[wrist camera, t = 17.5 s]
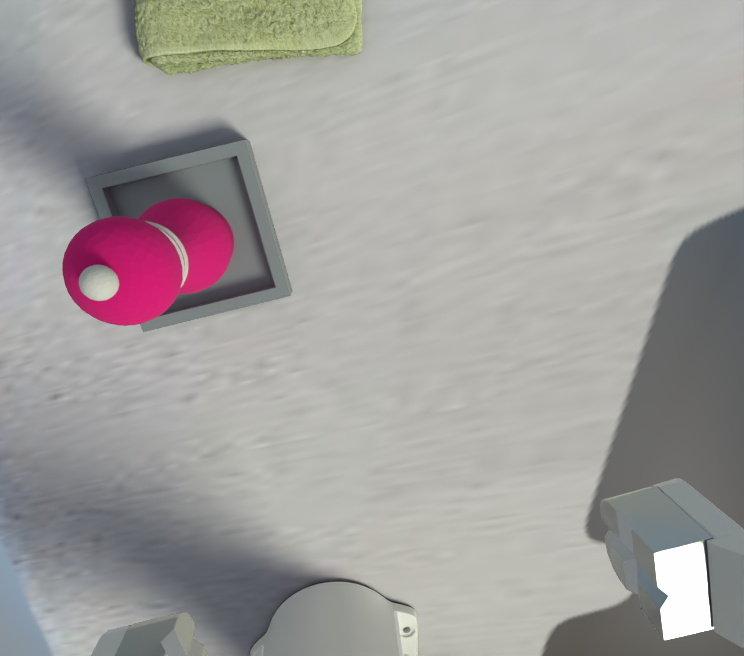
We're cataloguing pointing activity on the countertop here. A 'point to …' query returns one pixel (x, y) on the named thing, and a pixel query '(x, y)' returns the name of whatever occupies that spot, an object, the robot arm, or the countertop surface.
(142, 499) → the countertop surface
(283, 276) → the slate tray
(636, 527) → the robot arm
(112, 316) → the pepper mill
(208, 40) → the washcloth
